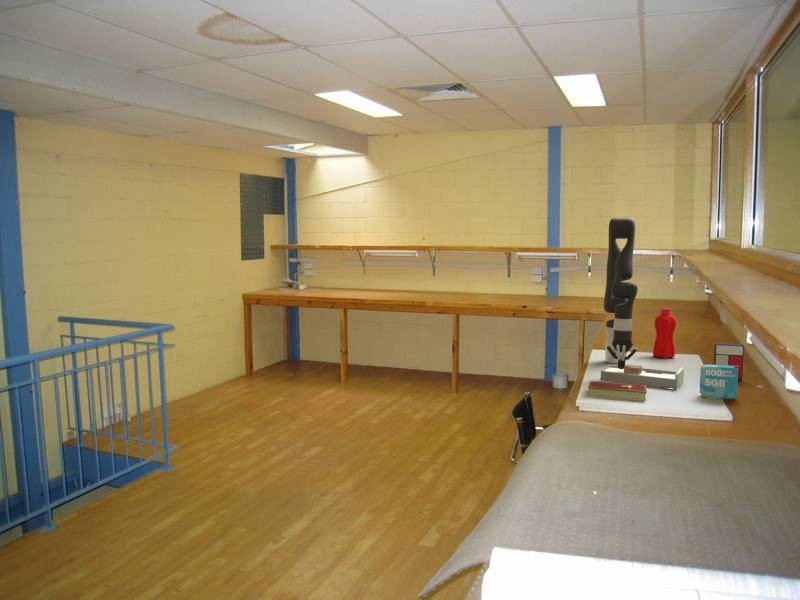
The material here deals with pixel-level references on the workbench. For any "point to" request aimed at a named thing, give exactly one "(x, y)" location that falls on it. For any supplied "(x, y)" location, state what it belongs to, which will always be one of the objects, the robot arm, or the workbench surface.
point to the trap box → (645, 377)
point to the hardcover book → (617, 390)
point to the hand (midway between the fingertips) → (621, 368)
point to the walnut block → (632, 369)
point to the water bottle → (664, 334)
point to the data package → (718, 381)
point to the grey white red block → (729, 356)
